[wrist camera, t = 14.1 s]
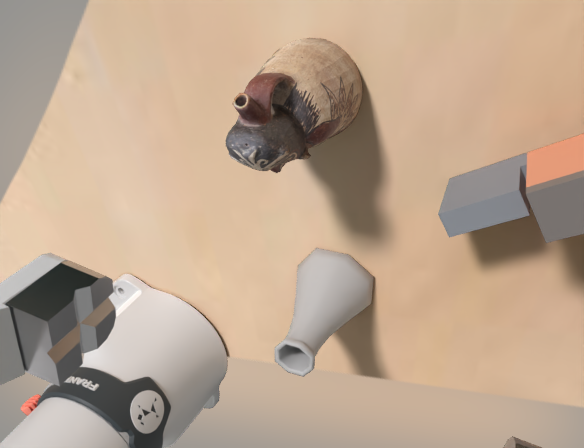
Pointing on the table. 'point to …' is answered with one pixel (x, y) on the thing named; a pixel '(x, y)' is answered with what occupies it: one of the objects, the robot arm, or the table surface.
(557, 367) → the table surface
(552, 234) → the block
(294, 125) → the figurine
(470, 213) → the bracket
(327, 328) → the flask
